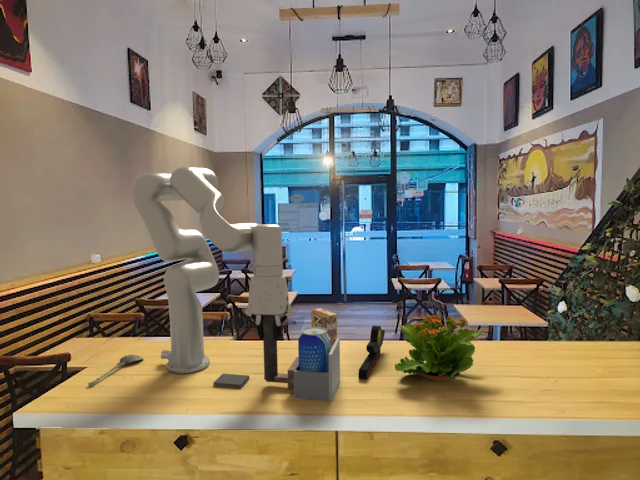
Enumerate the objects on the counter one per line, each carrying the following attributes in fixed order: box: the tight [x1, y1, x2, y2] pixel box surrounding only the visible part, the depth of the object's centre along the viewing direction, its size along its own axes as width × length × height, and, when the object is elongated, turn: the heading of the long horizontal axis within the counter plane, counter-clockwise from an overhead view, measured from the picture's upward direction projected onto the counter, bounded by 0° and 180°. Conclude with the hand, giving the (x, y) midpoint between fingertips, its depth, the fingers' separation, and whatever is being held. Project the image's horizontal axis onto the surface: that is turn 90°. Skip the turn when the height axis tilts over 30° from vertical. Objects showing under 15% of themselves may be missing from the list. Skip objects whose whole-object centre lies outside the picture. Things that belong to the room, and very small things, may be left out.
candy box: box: [310, 307, 338, 350], centre depth 134 cm, size 9×4×15 cm, turn 33°
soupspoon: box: [87, 354, 144, 387], centre depth 128 cm, size 22×3×7 cm
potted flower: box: [394, 314, 482, 382], centre depth 122 cm, size 25×24×18 cm
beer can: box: [297, 326, 331, 373], centre depth 113 cm, size 8×8×16 cm
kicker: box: [262, 315, 299, 391], centre depth 115 cm, size 10×9×19 cm
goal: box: [293, 338, 341, 402], centre depth 114 cm, size 10×12×12 cm
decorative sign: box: [358, 325, 386, 380], centre depth 132 cm, size 27×2×10 cm, turn 161°
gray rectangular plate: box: [212, 373, 250, 389], centre depth 119 cm, size 8×6×1 cm
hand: (270, 337), depth 115 cm, fingers closed on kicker, 3 cm apart
